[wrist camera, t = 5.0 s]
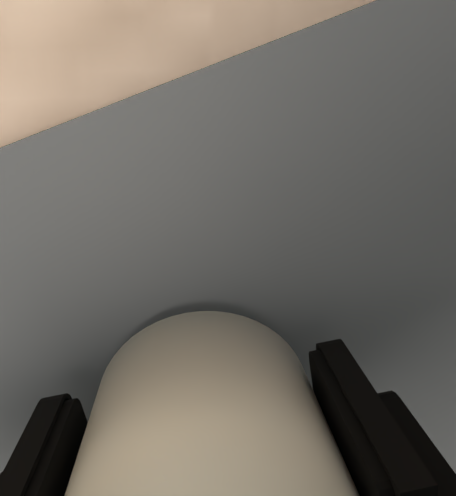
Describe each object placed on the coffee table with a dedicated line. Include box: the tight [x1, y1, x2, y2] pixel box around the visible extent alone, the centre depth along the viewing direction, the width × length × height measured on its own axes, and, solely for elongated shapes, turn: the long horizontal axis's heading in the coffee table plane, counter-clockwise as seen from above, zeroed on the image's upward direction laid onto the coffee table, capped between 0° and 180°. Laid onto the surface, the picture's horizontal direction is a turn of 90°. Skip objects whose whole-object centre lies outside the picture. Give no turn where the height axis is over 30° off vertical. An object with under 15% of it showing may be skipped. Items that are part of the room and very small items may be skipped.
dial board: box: [0, 0, 456, 474], centre depth 12 cm, size 22×14×2 cm, turn 110°
